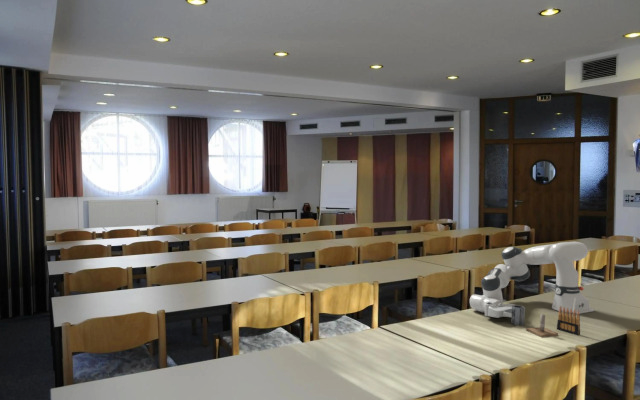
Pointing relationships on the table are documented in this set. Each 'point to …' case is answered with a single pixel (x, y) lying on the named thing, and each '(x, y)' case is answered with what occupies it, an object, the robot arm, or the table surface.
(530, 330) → the stand
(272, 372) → the table surface
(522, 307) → the grey octagonal tube
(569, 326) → the ammunition clip
